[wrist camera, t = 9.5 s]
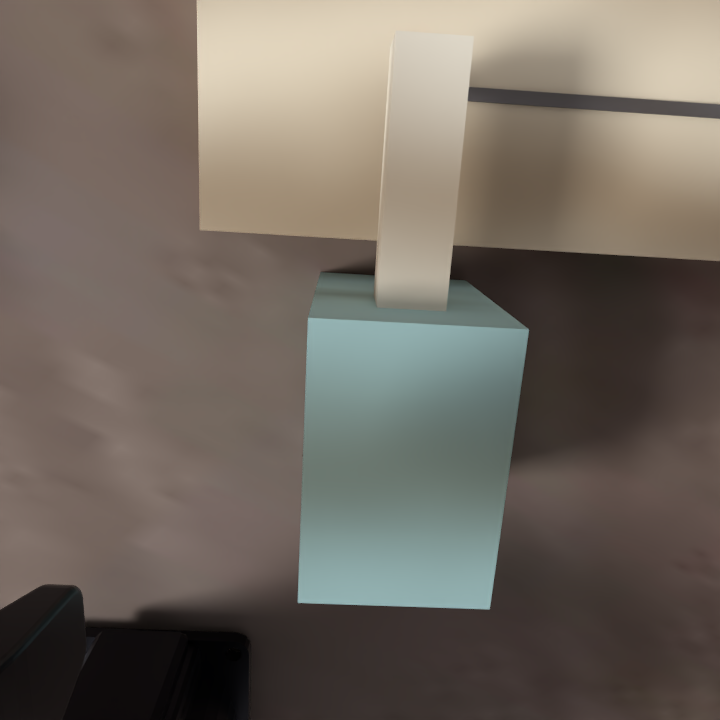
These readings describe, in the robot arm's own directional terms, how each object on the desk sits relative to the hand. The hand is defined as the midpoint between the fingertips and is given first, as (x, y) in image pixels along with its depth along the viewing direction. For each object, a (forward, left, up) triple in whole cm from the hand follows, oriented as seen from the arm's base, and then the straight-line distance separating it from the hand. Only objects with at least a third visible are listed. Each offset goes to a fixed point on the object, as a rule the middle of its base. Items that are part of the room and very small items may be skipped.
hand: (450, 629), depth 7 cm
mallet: (+2, 0, -10) cm, 11 cm away
